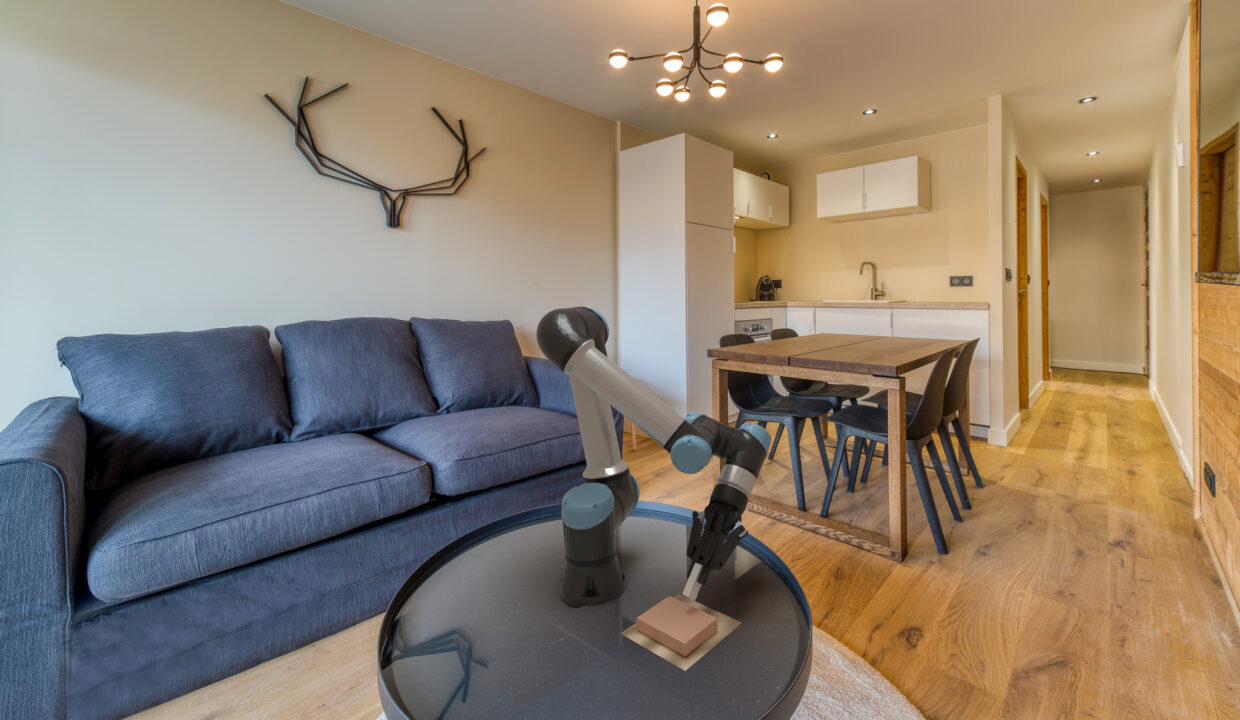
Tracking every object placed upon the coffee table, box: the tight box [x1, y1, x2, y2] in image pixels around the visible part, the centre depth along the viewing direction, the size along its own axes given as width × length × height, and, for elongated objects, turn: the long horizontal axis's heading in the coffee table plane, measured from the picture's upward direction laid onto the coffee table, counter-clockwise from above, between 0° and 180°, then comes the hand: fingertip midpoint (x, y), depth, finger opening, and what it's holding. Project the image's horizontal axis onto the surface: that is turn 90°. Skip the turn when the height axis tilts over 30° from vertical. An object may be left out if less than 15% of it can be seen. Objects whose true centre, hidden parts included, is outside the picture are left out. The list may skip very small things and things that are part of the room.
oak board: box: [620, 594, 743, 672], centre depth 105 cm, size 16×18×1 cm
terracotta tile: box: [635, 595, 718, 657], centre depth 104 cm, size 12×3×10 cm
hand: (688, 597), depth 105 cm, fingers closed
